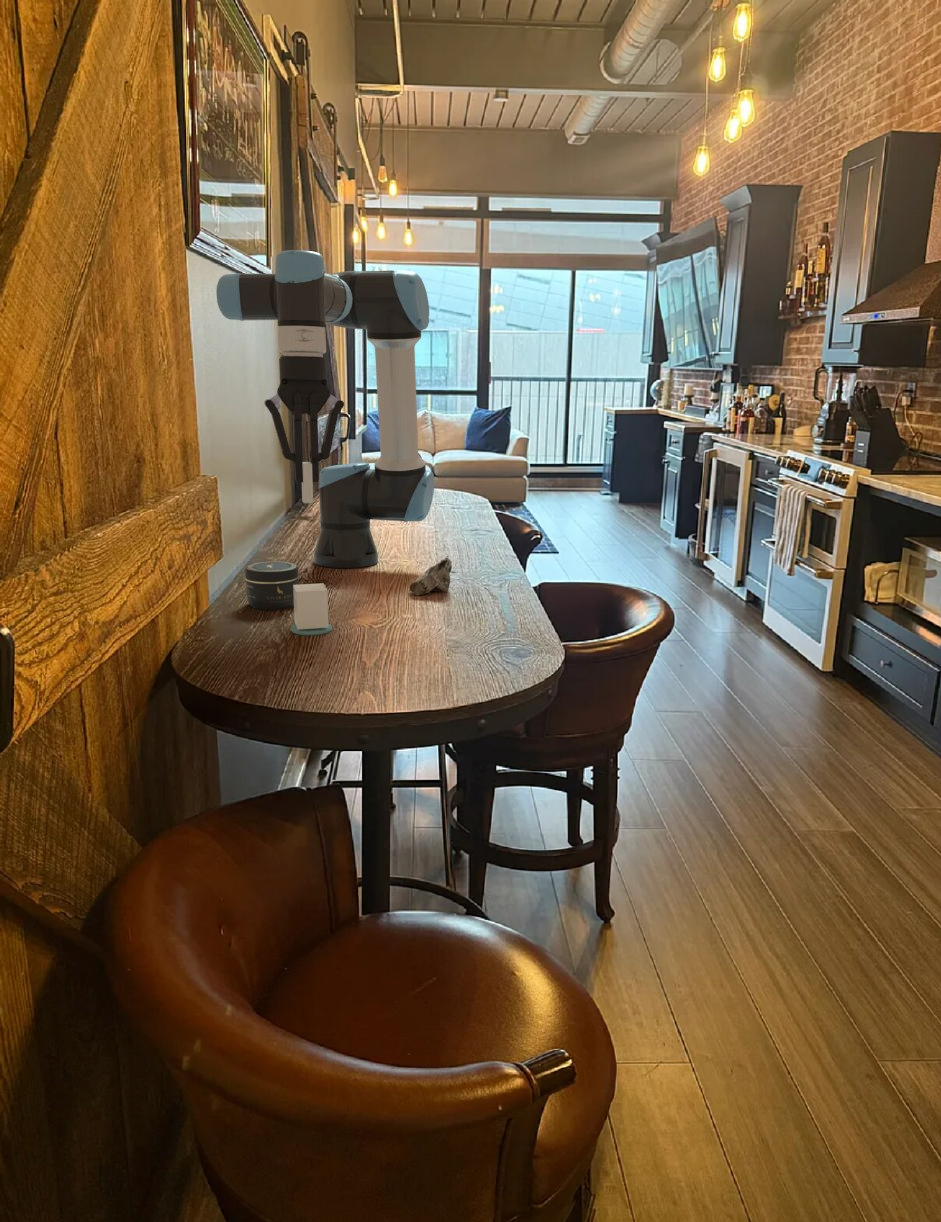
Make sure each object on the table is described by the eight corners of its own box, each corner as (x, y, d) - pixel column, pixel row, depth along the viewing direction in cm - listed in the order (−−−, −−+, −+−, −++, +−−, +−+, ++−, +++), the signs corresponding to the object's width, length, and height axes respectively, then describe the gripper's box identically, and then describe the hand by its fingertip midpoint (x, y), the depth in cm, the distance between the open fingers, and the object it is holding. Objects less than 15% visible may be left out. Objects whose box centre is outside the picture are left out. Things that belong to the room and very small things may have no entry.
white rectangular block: (294, 621, 150) (293, 584, 149) (324, 619, 152) (323, 583, 150) (297, 629, 146) (296, 591, 144) (328, 627, 147) (327, 590, 145)
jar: (256, 614, 158) (254, 573, 156) (239, 602, 167) (237, 563, 165) (307, 607, 164) (306, 568, 162) (288, 596, 172) (287, 558, 170)
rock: (443, 594, 169) (463, 557, 174) (410, 577, 169) (432, 541, 175) (435, 614, 177) (455, 578, 182) (404, 598, 177) (425, 563, 182)
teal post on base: (289, 625, 151) (287, 587, 149) (328, 622, 153) (327, 585, 151) (293, 636, 145) (291, 596, 143) (334, 633, 147) (333, 594, 145)
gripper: (262, 353, 132) (269, 506, 138) (347, 355, 136) (350, 504, 142) (259, 354, 139) (266, 499, 145) (339, 356, 142) (343, 498, 149)
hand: (307, 501), depth 143 cm, fingers closed
